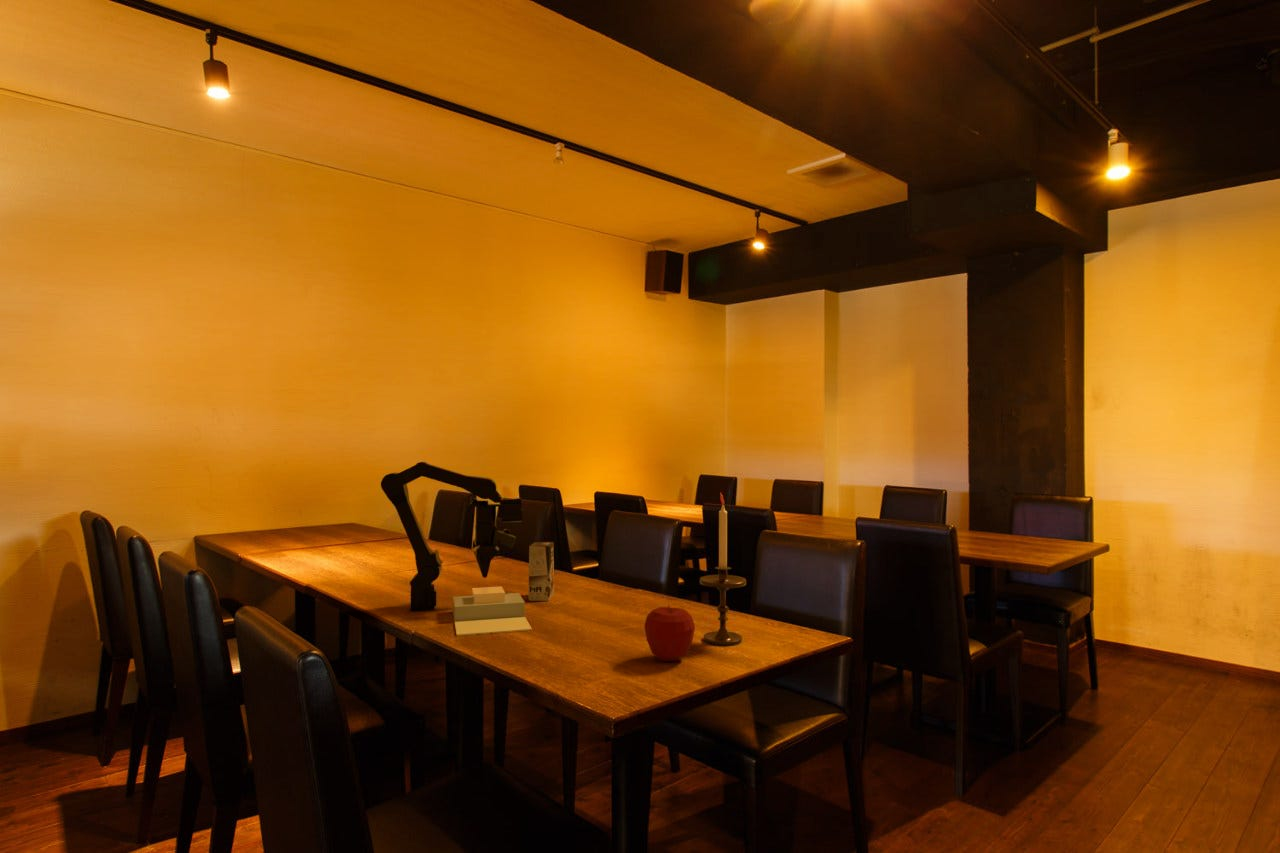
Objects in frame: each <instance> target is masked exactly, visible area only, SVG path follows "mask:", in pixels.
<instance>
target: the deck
mask: <svg viewBox="0 0 1280 853" xmlns="http://www.w3.org/2000/svg"><path fill="white" fill-rule="evenodd" d="M525 605H526V602H525V600H524V599H523V597H522V595H521V594H520V593H519V592H513V593H512V592H511V593H510V592H509V593H505V602H496V603H481V604H474V602H473V599H472V595H463V596H461V595H459V596H452V615H453V620H454V623H455V622H461V621H475V620H489V619H504V618H518V617H526V616H525V614H526V612H525V610H526V607H525Z"/></svg>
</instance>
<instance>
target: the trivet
mask: <svg viewBox="0 0 1280 853" xmlns="http://www.w3.org/2000/svg"><path fill="white" fill-rule="evenodd" d="M471 590H472V591H471V592H472V593H471V596H472V599H473V602H474V604H481V603H496V602H505V594H506V592H505V590H504V588H503V586H487V587H485V586H484V587H473V588H471Z"/></svg>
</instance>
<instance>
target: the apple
mask: <svg viewBox="0 0 1280 853" xmlns="http://www.w3.org/2000/svg"><path fill="white" fill-rule="evenodd" d="M645 619H646V620H645V623H644V631H645V637H646V641H647V644H648V647H649V649H650V651H651V652H650V653H651V654H652V655H653V656H655V657H656V658H657V659H658V660H660V661H662V662H675V661H678V660H680V659H682V658H683V657H685V655H687V654H688V652H689V649H690V648H691V645H692V642H694V641H693V640H694V635H695V630H696V626H695V623H694V620H693V617H692V615H691V613H689V611H687V610H685V609H684V608H680V607H670V605H667V606H660V607H657V608H656V607H655V608H654V609H652V610H651V611H650V612H648V614H647V615H646V617H645Z"/></svg>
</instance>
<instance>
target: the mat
mask: <svg viewBox="0 0 1280 853" xmlns="http://www.w3.org/2000/svg"><path fill="white" fill-rule="evenodd" d="M454 626H455V627H454V628H455V632H456V637H464V636H465V635H466V636H477V634H479V635H488V634H489V635H490V633H492V634H501V633H502V634H503V633H504V634H505V633H515V632H530V630H531V631H533V628H532V627H531V625H530V623H529V622H528V620H527V618H526V616H525V617H518V618H504V619H489V620H475V621H461V622H454ZM466 636H465V637H466Z"/></svg>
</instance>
